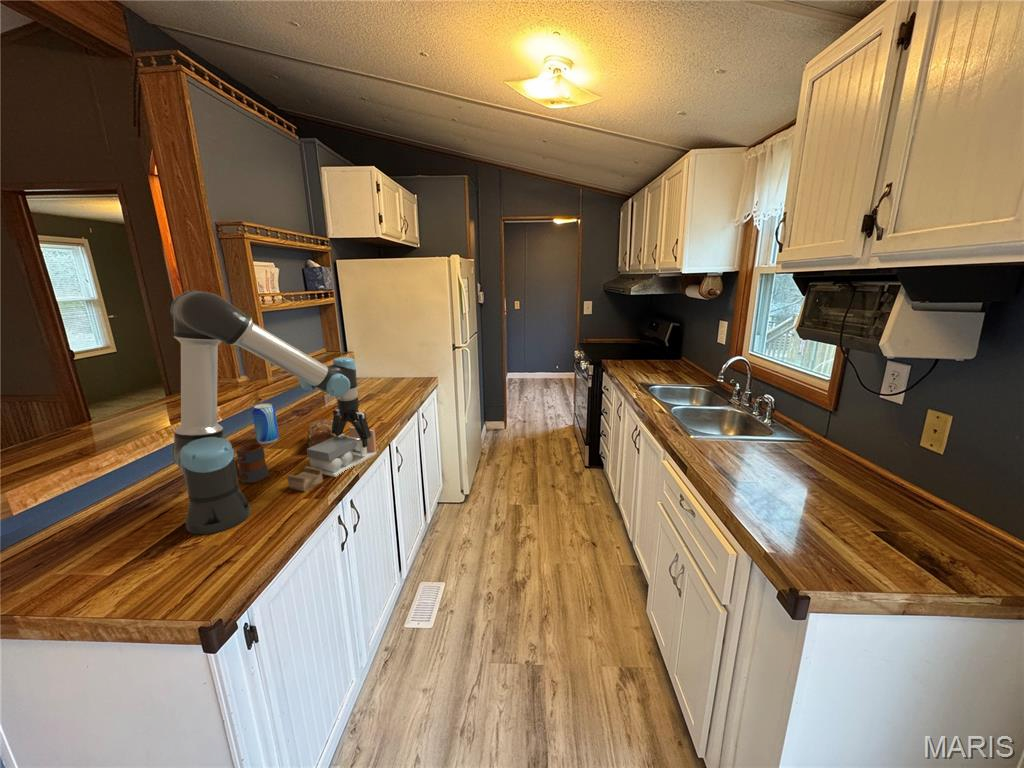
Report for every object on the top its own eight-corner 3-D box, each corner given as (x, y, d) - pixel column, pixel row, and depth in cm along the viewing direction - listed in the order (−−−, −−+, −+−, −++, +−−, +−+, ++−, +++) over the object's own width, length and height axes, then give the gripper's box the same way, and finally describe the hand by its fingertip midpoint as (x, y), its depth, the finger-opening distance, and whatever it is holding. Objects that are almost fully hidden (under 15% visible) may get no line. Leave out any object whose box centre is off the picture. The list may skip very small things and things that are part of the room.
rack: (304, 491, 133) (303, 479, 132) (289, 487, 136) (287, 475, 135) (322, 481, 140) (321, 469, 139) (307, 477, 143) (306, 466, 142)
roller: (337, 449, 158) (336, 437, 157) (347, 445, 163) (346, 433, 162) (358, 453, 155) (357, 441, 154) (367, 448, 159) (366, 436, 158)
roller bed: (308, 471, 147) (305, 446, 145) (353, 449, 168) (350, 426, 165) (334, 477, 143) (331, 451, 141) (376, 453, 164) (374, 430, 161)
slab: (307, 456, 145) (306, 448, 144) (335, 443, 157) (334, 436, 156) (329, 461, 142) (328, 453, 141) (355, 447, 153) (355, 440, 153)
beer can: (252, 442, 174) (247, 406, 170) (271, 436, 181) (266, 401, 177) (264, 446, 170) (259, 409, 166) (283, 439, 177) (278, 404, 173)
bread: (337, 451, 166) (334, 428, 164) (308, 455, 162) (305, 431, 160) (337, 435, 183) (335, 414, 180) (311, 438, 179) (308, 417, 176)
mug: (225, 488, 135) (220, 455, 133) (252, 472, 147) (247, 441, 144) (249, 489, 134) (244, 457, 132) (274, 473, 146) (269, 443, 143)
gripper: (378, 398, 153) (382, 453, 159) (332, 392, 161) (337, 444, 167) (364, 404, 147) (369, 460, 152) (317, 397, 154) (323, 451, 160)
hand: (353, 452), depth 159 cm, fingers closed on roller, 10 cm apart
